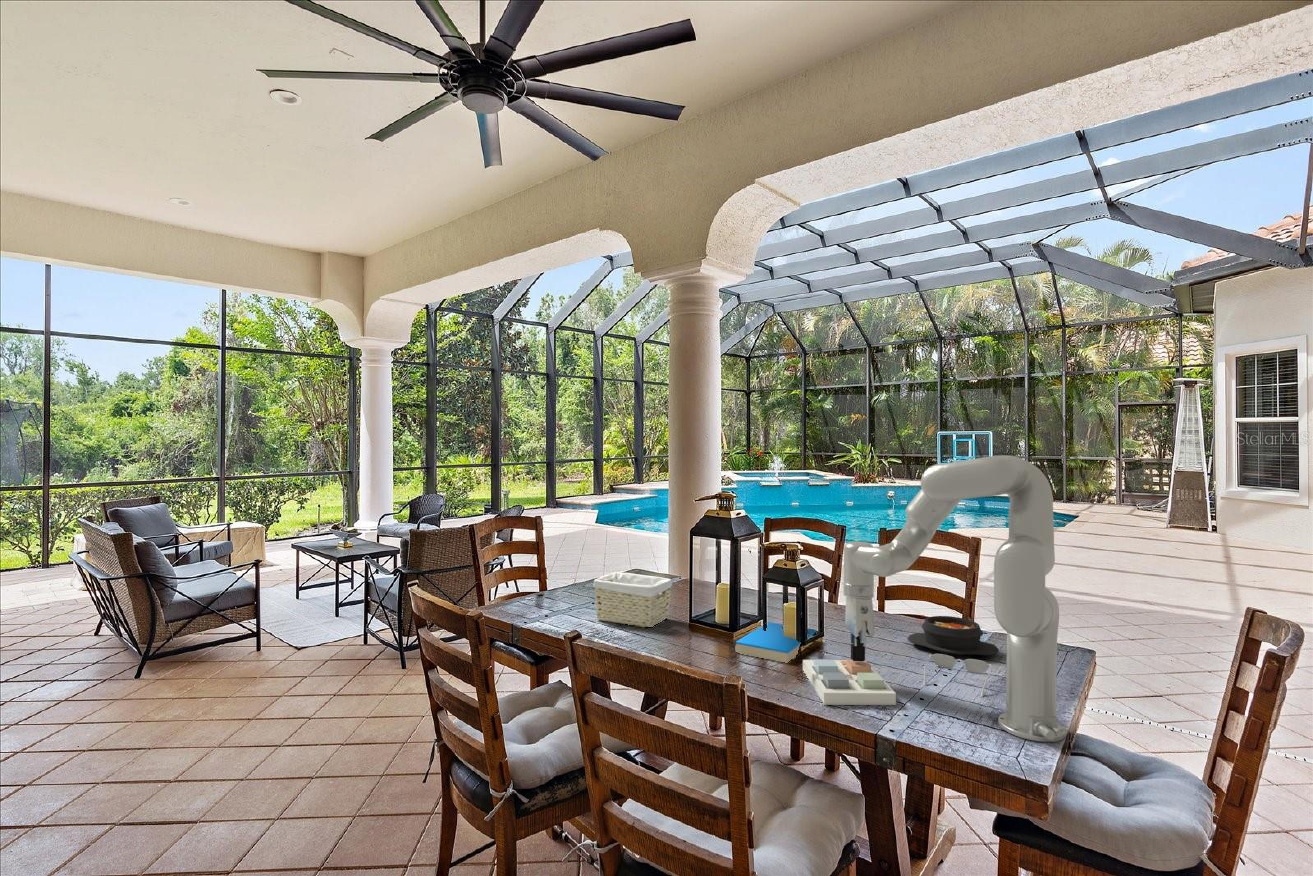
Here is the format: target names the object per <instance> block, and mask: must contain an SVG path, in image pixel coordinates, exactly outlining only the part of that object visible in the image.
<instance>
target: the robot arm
mask: <svg viewBox="0 0 1313 876" xmlns="http://www.w3.org/2000/svg"><path fill="white" fill-rule="evenodd" d="M920 488H921V489H920V490H919V491H918V492H917V494H916V495H915V496H914V498H912V499H911V501H910V502H909V503H908V504H907V506H906V508H905V515H906V521H905V523H904V525H903V527H902V529H901V530H900V531H899V532H898V533H897V534H896V536H895V537H894V538H893V540H892V541H891V542H890V543H887V544H882V545H878V546H873V544H872V543H869V542H866V541H848V542H846V543H845V544H844V547H843V596H845V597H846V598H845V610H844V611H845V614H844V617H845V618H844V619H845V620H844V621H845V627H846V628H847V630H848V631H849V632H850V660H853V661H865V660H866V644H867V643H868V641H867V640H868V639H867V635H868V636H869V637H870V638H873V637H874V636H875V621H874V619H875V616H874V604H873V598H875V595H874V594H875V593H874V592H875V591H874V589H875V588H874V587H875V586H874V585H875V584H874V583H875V582H874V581H875V578H874V577H875V576H876V577H877V576H878V577H880V578H881V577H882V578H885V577H886V578H887V577H890V576H893V575H896V574H898V573H902V572H904V571H906V570H907V569H909V568H910V567H911V566H913V564H914V563H915V562H916V560H917V559H918V558H919V557H920V556H921V554H923V552H924V551H925V550H926V548H927V547H928V545H929V544H930V543H931V542H932V539H933V537H934V536H935V534H936V531H937V530H938V529H939V528H940V526H941V525H942V524H943V523H944V522H945V520H946V519H947V518H948V517H949V516H950V514H951V513H952V512H953V510H954V509H955V508H957V506H958V504H959V503H960V502H961V501H962V500H967V499H977V498H986V497H994V496H997V497H998V496H1002V495H1008V499H1009V507H1008V538H1007V540H1006V541H1004V542H1003V543H1002V544H1000V546H999V548H997V551H996V553H995V556H994V559H993V560H994V562H993V608H994V609H993V610H994V615H995V619H996V621H997V623H998V624H999V626H1000V627H1001V628H1002V629H1003V630H1004V631H1005V632H1006V649H1005V650H1006V651H1005V652H1006V653H1005V656H1006V657H1005V666H1006V667H1005V668H1006V669H1005V670H1006V671H1005V673H1006V674H1005V677H1006V678H1005V688H1006V689H1005V696H1006V697H1005V701H1006V702H1005V706H1006V707H1005V712H1004V713H1002V714H1000V715H999V716H998V719H997V720H998V722H997V723H998V726H999V727H1000V728H1001V730H1004V731H1005V732H1007V733H1009V734H1011V735H1013V736H1016V737H1019V738H1021V739H1025V740H1029V741H1033V742H1034V741H1035V742H1040V743H1041V742H1042V743H1053V742H1054V743H1055V742H1059V741H1062V740H1065V739H1064V738H1065V737H1066V730H1065V728H1064V727H1063V726H1062V725H1061V723H1058V721H1059V719H1058V717H1057V714H1058V712H1057V709H1058V707H1057V706H1058V705H1057V697H1058V695H1057V685H1058V684H1057V683H1058V682H1057V676H1058V675H1057V671H1058V670H1057V669H1058V668H1057V665H1058V663H1057V662H1058V635H1059V624H1060V623H1059V622H1060V606H1059V603H1058V599H1057V598H1056V596H1055V595H1054V594H1053V592H1052V591H1051V590H1050V589H1049V588H1047V587H1046V576H1047V575H1049V573H1050V572H1052V570H1053V568H1054V566H1055V560H1056V559H1055V558H1056V556H1055V555H1056V554H1055V526H1054V500H1053V499H1054V497H1053V491H1052V488H1051V485H1050V483H1049V480H1048V477H1046V475H1045V474H1044V473H1043V472H1042V470H1041V469H1039V468H1038V467H1037V466H1036V465H1034V464H1033V463H1032V462H1030V461H1028V460H1025V459H1023V458H1021V457H1018V456H1013V455H992V456H991V455H990V456H985V457H979V458H972V459H965V460H960V461H953V462H944V463H936V464H933V465H930V466H929V467H928V468H927V469H925V470H924V472H923V473H922V475H921V478H920Z"/></svg>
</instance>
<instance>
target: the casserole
mask: <svg viewBox="0 0 1313 876" xmlns="http://www.w3.org/2000/svg"><path fill="white" fill-rule="evenodd" d="M921 628H922V630H923V632H916V633H912V634H910V635H909V636H908V637H907V640H908V641H909V642H910V643H911V644H914V645H917V646H920V647H925V648H928V649H931V650H933V651H935V652H938V653H940V654H943V655H948V656H970V655H979V656H992V655H995V654H997V653H998V652H999V651H1000V650H999V648H998V647H997V646H996V645H995V644H992V643H989V642H987V641H986V642H984V641H982V640H981V637H982V636H983V635H984V632H983V630H982V629H981V626H980V625H979V623H978V622H975V621H974V620H970V619H968V618H967V619H966V618H963V617H959V616H949V615H934V616H933V615H932V616H927V617H926V618H925V619H924V622H923V623H922V624H921Z"/></svg>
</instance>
